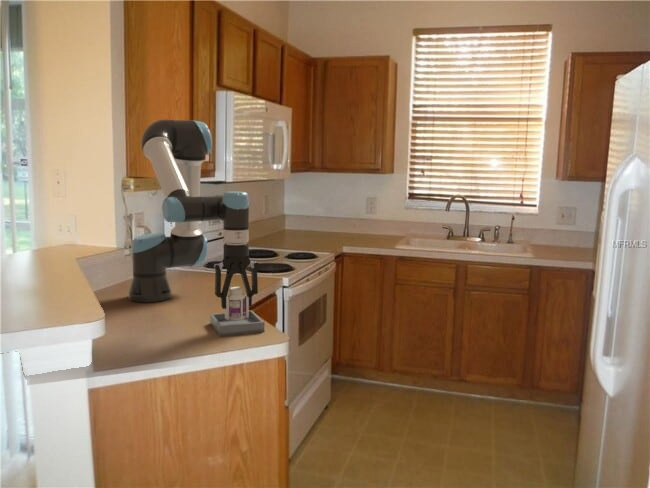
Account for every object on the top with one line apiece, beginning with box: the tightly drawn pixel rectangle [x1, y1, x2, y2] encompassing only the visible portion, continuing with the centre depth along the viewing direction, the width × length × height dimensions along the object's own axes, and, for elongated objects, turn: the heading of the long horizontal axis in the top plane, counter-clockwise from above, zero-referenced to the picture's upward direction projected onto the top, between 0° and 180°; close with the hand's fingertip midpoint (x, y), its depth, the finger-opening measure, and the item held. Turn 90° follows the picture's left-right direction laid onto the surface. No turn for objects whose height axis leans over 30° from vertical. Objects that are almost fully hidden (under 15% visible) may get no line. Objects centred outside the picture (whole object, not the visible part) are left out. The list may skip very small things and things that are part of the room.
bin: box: [209, 310, 265, 337], centre depth 173 cm, size 14×14×3 cm
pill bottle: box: [227, 286, 246, 321], centre depth 172 cm, size 5×5×10 cm
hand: (236, 317), depth 173 cm, fingers closed on pill bottle, 5 cm apart
